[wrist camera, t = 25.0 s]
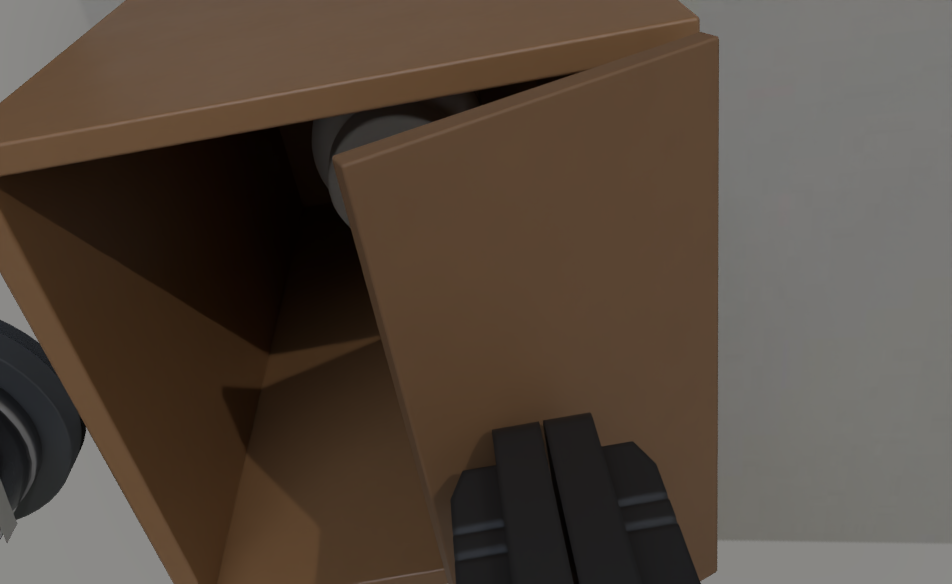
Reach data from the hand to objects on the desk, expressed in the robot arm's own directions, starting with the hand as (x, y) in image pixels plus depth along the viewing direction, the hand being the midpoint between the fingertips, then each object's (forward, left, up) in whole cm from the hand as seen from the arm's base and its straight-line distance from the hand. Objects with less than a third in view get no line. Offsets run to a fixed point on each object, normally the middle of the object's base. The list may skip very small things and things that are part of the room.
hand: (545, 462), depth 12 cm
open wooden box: (-2, +1, -22) cm, 22 cm away
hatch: (0, 0, -1) cm, 1 cm away
